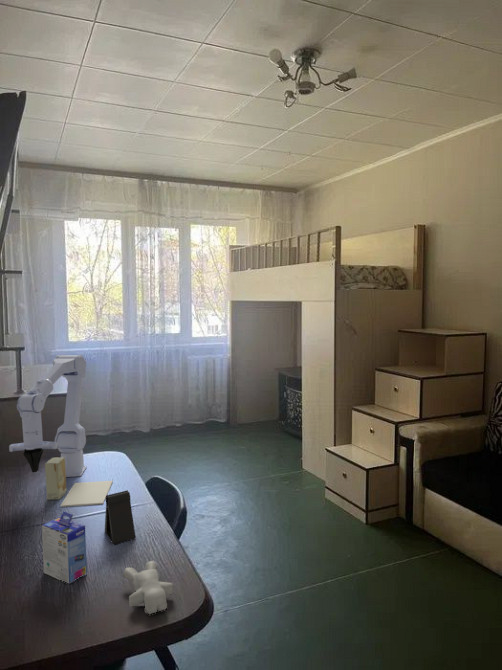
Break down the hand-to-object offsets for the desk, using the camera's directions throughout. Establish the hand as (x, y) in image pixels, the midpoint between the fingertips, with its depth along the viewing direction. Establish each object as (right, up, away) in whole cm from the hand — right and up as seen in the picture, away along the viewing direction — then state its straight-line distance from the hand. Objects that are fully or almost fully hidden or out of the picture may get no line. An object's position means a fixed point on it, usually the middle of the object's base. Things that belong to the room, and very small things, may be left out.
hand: (35, 471), depth 161 cm
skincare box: (+7, -9, +2) cm, 11 cm away
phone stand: (+35, -11, -26) cm, 44 cm away
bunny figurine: (+48, -13, -53) cm, 73 cm away
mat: (+17, -8, +3) cm, 19 cm away
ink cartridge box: (+27, -13, -43) cm, 53 cm away
